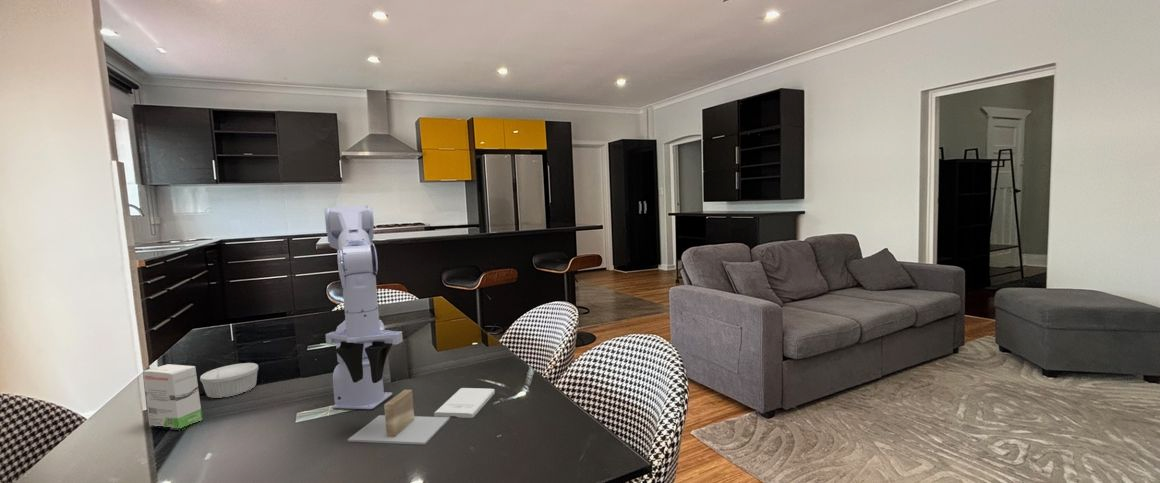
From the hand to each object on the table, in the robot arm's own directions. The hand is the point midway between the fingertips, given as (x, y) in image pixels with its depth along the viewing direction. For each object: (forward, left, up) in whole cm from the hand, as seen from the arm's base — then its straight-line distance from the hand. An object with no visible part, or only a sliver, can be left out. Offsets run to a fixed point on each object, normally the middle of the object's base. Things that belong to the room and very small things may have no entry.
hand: (367, 380), depth 92 cm
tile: (+6, 0, -9) cm, 11 cm away
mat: (+6, 0, -9) cm, 11 cm away
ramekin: (-47, +16, -10) cm, 51 cm away
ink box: (-43, -1, -10) cm, 44 cm away
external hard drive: (+14, +12, -10) cm, 21 cm away
